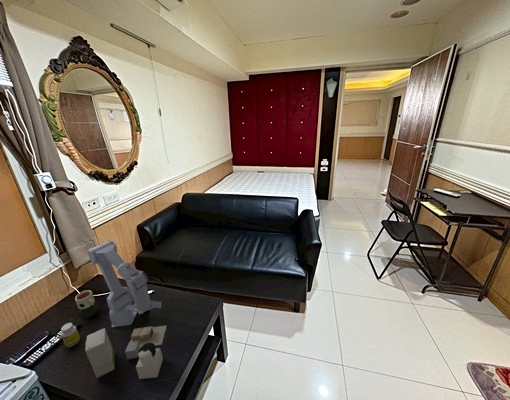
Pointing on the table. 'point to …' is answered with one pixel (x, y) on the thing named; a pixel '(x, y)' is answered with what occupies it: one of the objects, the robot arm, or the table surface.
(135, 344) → the slate block
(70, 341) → the supplement bottle
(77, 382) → the table surface
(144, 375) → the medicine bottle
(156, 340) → the felt mat
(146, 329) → the birch block
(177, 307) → the table surface
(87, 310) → the character mug
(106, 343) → the skincare box
